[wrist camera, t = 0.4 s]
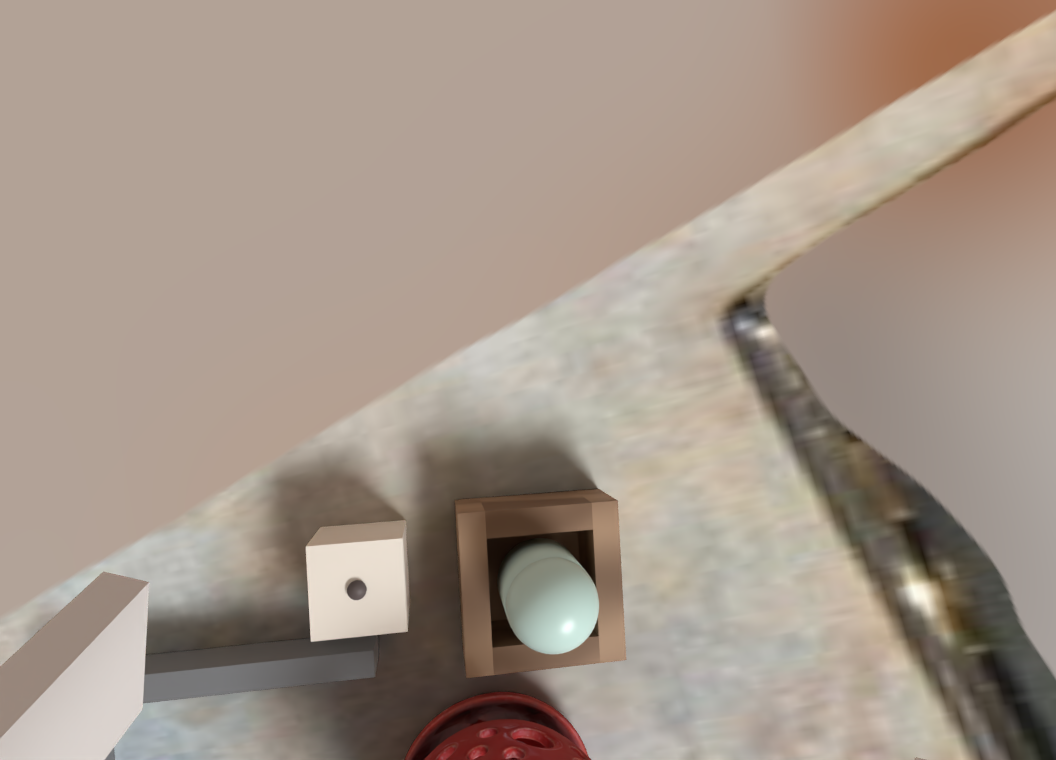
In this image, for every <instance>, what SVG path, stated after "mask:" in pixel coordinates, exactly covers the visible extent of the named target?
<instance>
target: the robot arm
mask: <svg viewBox="0 0 1056 760" xmlns="http://www.w3.org/2000/svg"><path fill="white" fill-rule="evenodd" d="M148 598H149V582H146V581H142V580H138V579H133V578H129V577H124V576H120V575H116V574H111V573H107V572H102V573H101V574H100V575H99V576H98V577H97V578H96V579H95V580H94V581H93V582H92V583H90V584H89V585H88V586H87V587H86V588H85V589H84V590H83V591H82V592H81V593H80V594H79V595H77V596H76V597H75V598H74V599H73V600H72V601H71V602H70V603H69V604H68V605H67V606H66V607H64V608H63V609H62V610H61V611H60V612H59V613H58V614H57V615H56V616H55V617H54V618H53V619H51V620H50V621H49V622H48V623H47V624H46V625H45V626H44V627H43V628H42V629H41V630H39V631H38V632H37V633H36V634H35V635H34V636H33V637H32V638H31V639H30V640H29V641H28V642H26V643H25V644H24V645H23V646H22V647H21V648H20V649H19V650H18V651H17V652H16V653H15V654H13V655H12V656H11V657H10V658H9V659H8V660H7V661H6V662H5V663H4V664H3V665H2V666H0V760H105V759H106V757H107V756H108V755H109V753H110V752H111V751H112V749H113V748H114V747H115V745H116V744H117V743H118V741H119V740H120V739H121V737H122V736H123V735H124V733H125V732H126V731H127V729H128V728H129V727H130V725H131V724H132V723H133V721H134V720H135V719H136V717H137V716H138V715H139V713H140V712H141V711H142V709H143V692H144V673H145V654H146V635H147V616H148ZM915 760H925V759H921V758H915Z"/></svg>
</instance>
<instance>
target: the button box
mask: <svg viewBox="0 0 1056 760" xmlns="http://www.w3.org/2000/svg"><path fill="white" fill-rule="evenodd" d="M455 515H456V534H457V553H458V571H459V590H460V608H461V627H462V645H463V654H464V662H465V670H466V678H473V677H482V676H491V675H500V674H508V673H517V672H526V671H534V670H543V669H552V668H560V667H569V666H578V665H586V664H595V663H604V662H613V661H621V660H626V648H625V629H624V610H623V591H622V573H621V554H620V535H619V516H618V501H617V500H616V499H614V498H612V497H611V496H609V495H608V494H606V493H604V492H603V491H601V490H600V489H587V490H574V491H561V492H548V493H536V494H523V495H510V496H497V497H484V498H471V499H459V500H455ZM533 538H547V539H551V540H554V541H556V542H558V543H560V544H562V545H563V546H564V547H566V548H567V549H568V550H569V551H570V553H571V554H572V555H573V556H574V557H575V559H576V560H577V561H578V562H579V563H580V565H581V566H582V567H583V568H584V570H585V571H586V572H587V573H588V575H589V576H590V577H591V579H592V581H593V583H594V584H595V587H596V589H597V593H598V599H599V613H598V618H597V622H596V624H595V627H594V629H593V631H592V633H591V634H590V635H589V637H588V638H587V639H586V640H585V641H584V642H583V643H582V644H581V645H580V646H578V647H577V648H575V649H573V650H571V651H569V652H566V653H562V654H545V653H540V652H537V651H535V650H533V649H531V648H529V647H528V646H526V645H525V644H524V643H522V642H521V641H520V640H519V639H518V638H517V636H516V635H515V634H514V632H513V630H512V628H511V627H510V624H509V622H508V619H507V616H506V613H505V610H504V607H503V604H502V601H501V598H500V595H499V591H498V585H497V577H498V571H499V567H500V565H501V563H502V561H503V559H504V557H505V556H506V555H507V553H508V552H509V551H510V550H511V549H512V548H513V547H515V546H516V545H518V544H519V543H521V542H523V541H525V540H529V539H533Z"/></svg>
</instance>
